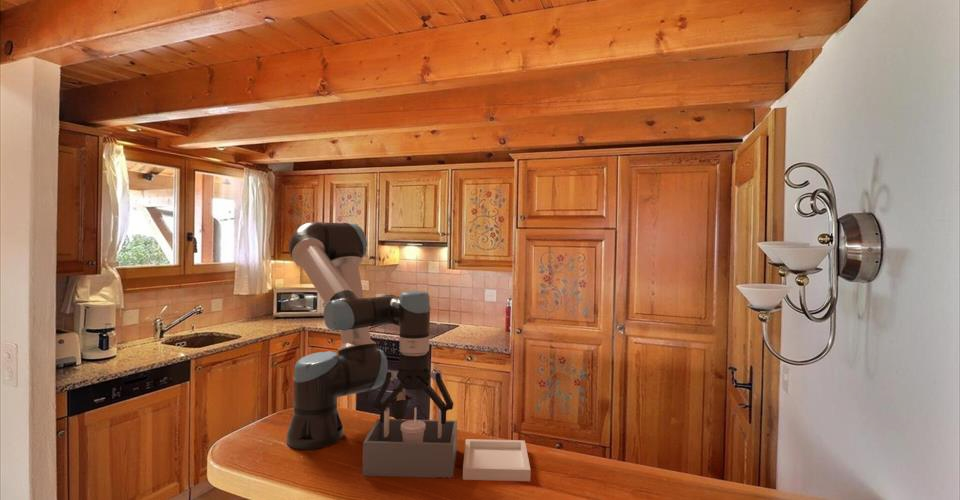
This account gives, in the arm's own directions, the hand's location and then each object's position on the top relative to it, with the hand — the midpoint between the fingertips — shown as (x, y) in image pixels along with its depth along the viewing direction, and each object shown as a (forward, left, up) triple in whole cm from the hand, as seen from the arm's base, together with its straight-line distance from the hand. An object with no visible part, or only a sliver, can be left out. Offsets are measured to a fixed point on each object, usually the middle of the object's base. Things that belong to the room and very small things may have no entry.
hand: (413, 435), depth 115 cm
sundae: (-18, +8, -7) cm, 21 cm away
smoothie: (0, 0, -7) cm, 7 cm away
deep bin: (0, 0, -7) cm, 7 cm away
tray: (+15, +15, -7) cm, 22 cm away
